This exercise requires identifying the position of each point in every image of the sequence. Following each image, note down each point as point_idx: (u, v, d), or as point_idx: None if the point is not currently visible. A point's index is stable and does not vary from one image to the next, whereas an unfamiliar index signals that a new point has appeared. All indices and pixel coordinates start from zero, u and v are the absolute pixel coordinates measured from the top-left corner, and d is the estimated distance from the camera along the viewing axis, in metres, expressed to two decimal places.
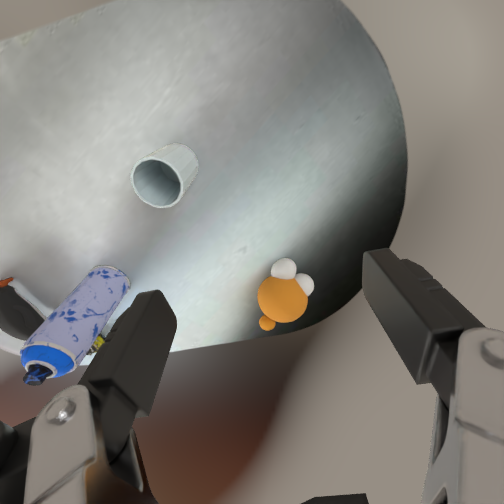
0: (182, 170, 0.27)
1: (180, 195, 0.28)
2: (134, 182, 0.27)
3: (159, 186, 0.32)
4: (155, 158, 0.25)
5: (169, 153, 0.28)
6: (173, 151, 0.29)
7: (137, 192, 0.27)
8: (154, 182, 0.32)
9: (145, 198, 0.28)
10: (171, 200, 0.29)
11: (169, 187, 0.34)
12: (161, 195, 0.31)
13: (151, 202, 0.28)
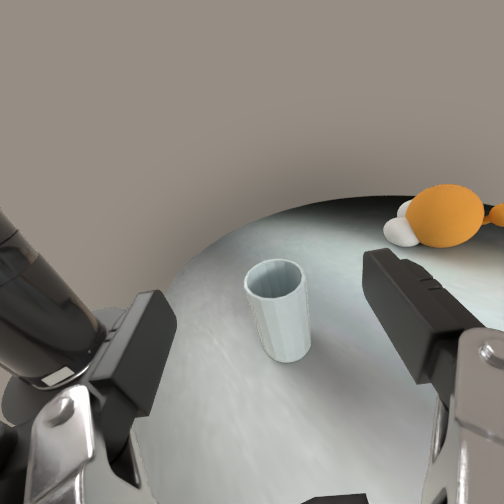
0: None
1: (287, 260, 0.24)
2: None
3: None
4: (246, 276, 0.23)
5: (253, 292, 0.26)
6: None
7: (284, 296, 0.20)
8: None
9: None
10: (301, 281, 0.23)
11: None
12: None
13: None
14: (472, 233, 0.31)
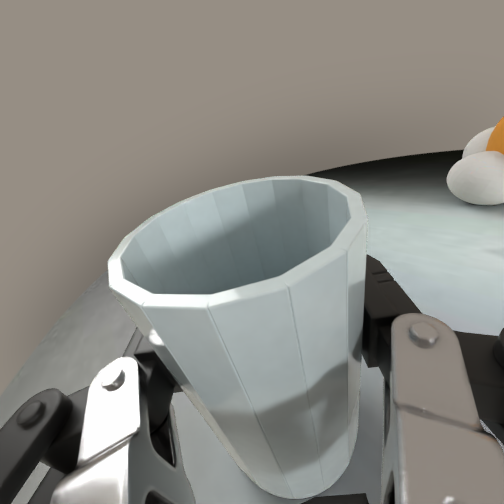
0: None
1: (284, 177, 0.07)
2: None
3: None
4: (139, 226, 0.07)
5: None
6: None
7: (273, 281, 0.03)
8: None
9: None
10: (334, 237, 0.07)
11: None
12: None
13: None
14: None
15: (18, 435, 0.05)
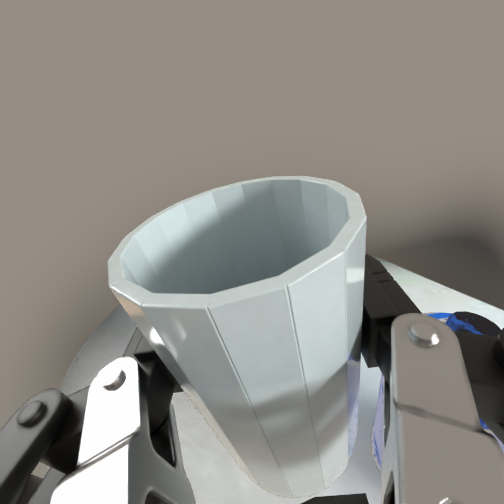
0: None
1: (283, 177, 0.07)
2: None
3: None
4: (138, 227, 0.07)
5: None
6: None
7: (272, 281, 0.03)
8: None
9: None
10: (333, 237, 0.07)
11: None
12: None
13: None
14: None
15: (18, 435, 0.05)
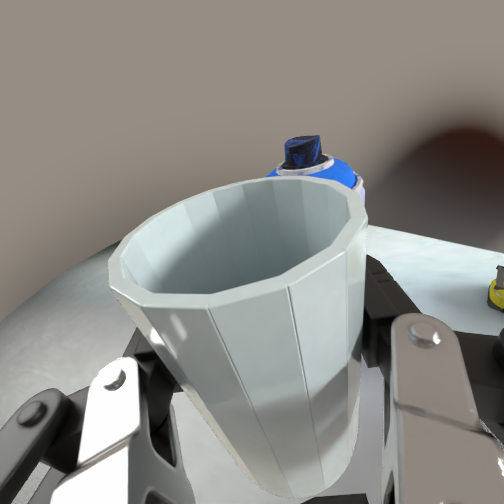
0: None
1: (284, 177, 0.07)
2: None
3: None
4: (139, 226, 0.07)
5: None
6: None
7: (273, 281, 0.03)
8: None
9: None
10: (334, 237, 0.07)
11: None
12: None
13: None
14: None
15: (18, 435, 0.05)
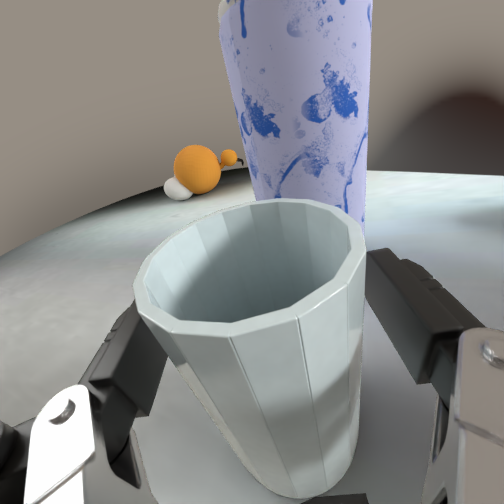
0: None
1: (289, 200, 0.08)
2: None
3: None
4: (156, 248, 0.07)
5: None
6: None
7: (285, 311, 0.04)
8: None
9: None
10: (336, 257, 0.07)
11: None
12: None
13: None
14: (214, 172, 0.43)
15: None
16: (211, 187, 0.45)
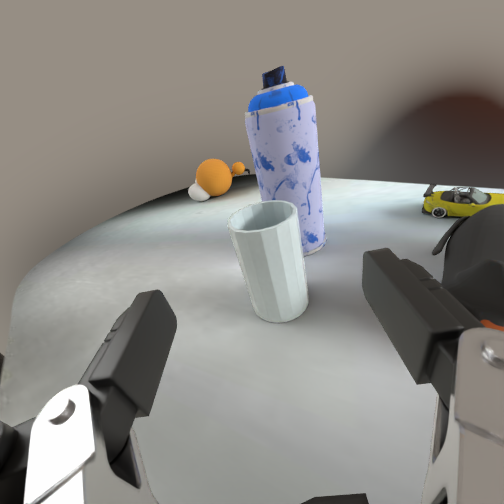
0: None
1: (277, 200, 0.21)
2: None
3: None
4: (230, 217, 0.20)
5: None
6: None
7: (273, 226, 0.17)
8: None
9: None
10: None
11: None
12: None
13: None
14: (227, 180, 0.56)
15: None
16: (225, 191, 0.58)
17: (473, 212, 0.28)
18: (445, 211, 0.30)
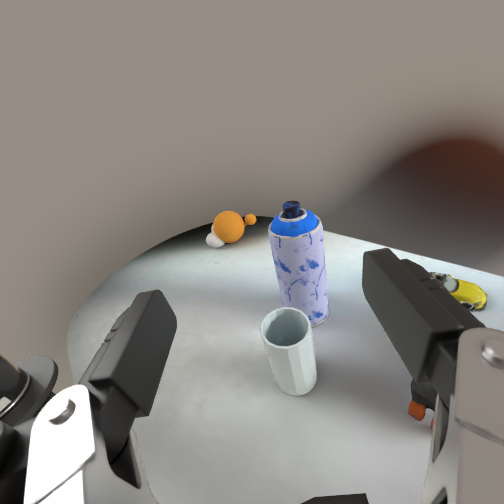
0: None
1: (295, 309, 0.29)
2: None
3: None
4: (261, 325, 0.28)
5: None
6: None
7: (295, 344, 0.25)
8: None
9: None
10: (307, 327, 0.28)
11: None
12: None
13: None
14: (241, 231, 0.64)
15: None
16: (238, 239, 0.66)
17: None
18: None
